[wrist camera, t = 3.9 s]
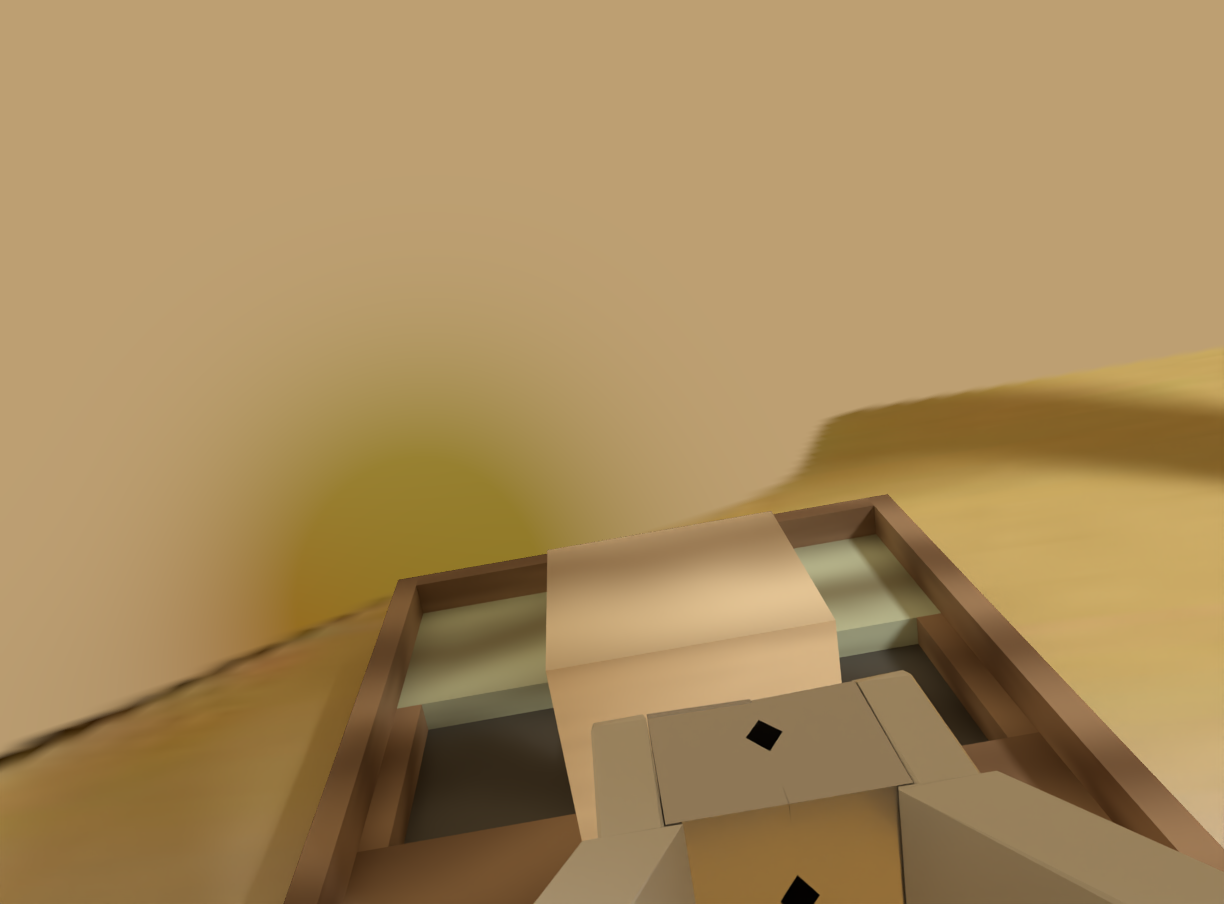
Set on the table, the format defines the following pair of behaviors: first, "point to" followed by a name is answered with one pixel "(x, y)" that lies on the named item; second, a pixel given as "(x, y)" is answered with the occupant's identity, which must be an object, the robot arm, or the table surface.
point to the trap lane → (531, 748)
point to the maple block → (678, 630)
